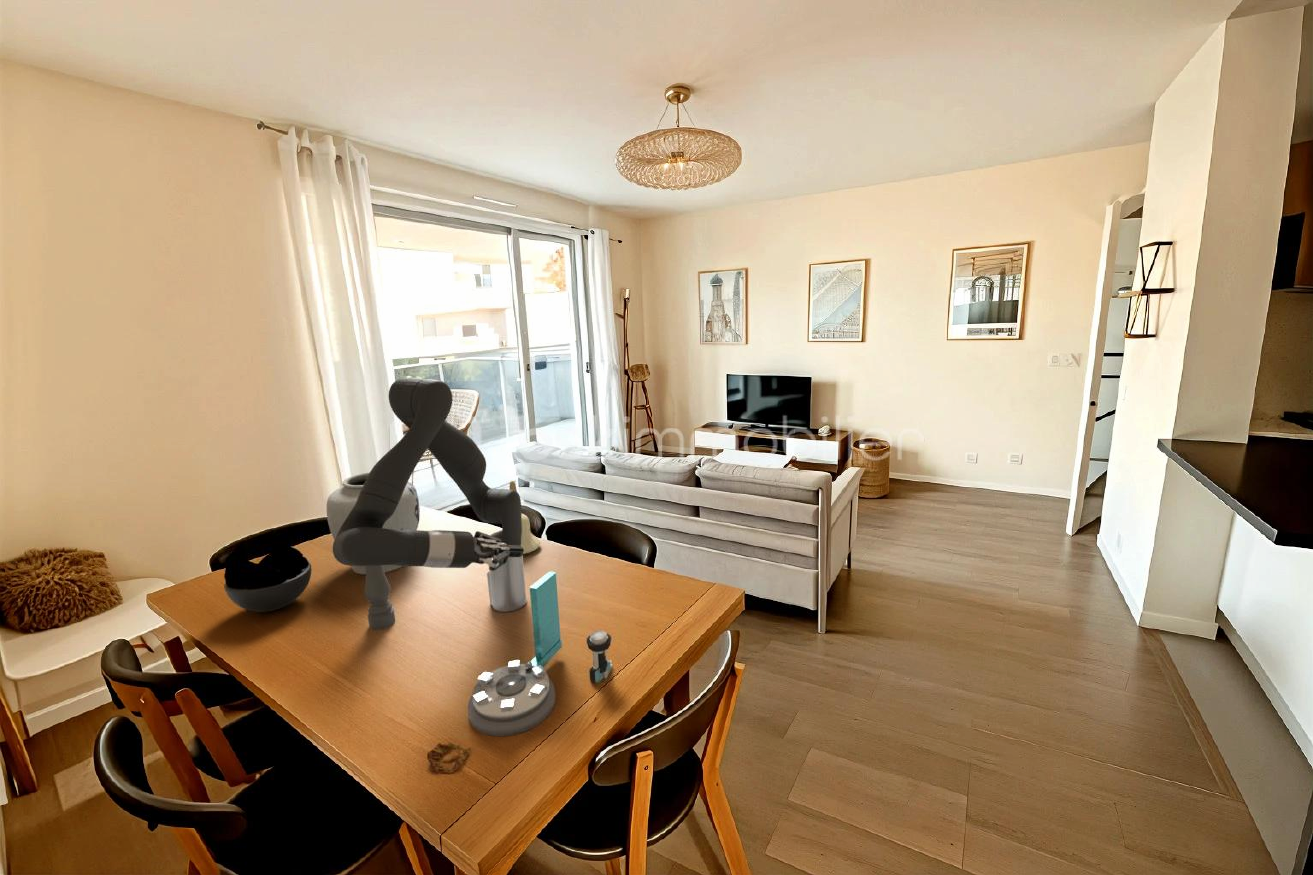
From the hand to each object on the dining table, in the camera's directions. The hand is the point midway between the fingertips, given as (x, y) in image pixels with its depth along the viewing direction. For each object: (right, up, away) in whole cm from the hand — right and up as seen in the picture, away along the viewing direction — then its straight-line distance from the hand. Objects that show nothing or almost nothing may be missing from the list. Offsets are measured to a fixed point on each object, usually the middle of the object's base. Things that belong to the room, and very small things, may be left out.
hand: (521, 551), depth 122 cm
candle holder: (-42, -24, +20) cm, 52 cm away
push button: (+19, -27, -3) cm, 33 cm away
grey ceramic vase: (-61, -17, +57) cm, 85 cm away
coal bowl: (-78, -23, +31) cm, 87 cm away
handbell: (-17, -14, +65) cm, 69 cm away
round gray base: (+1, -29, -12) cm, 31 cm away
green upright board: (+3, -25, -8) cm, 27 cm away
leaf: (-6, -32, -25) cm, 42 cm away
